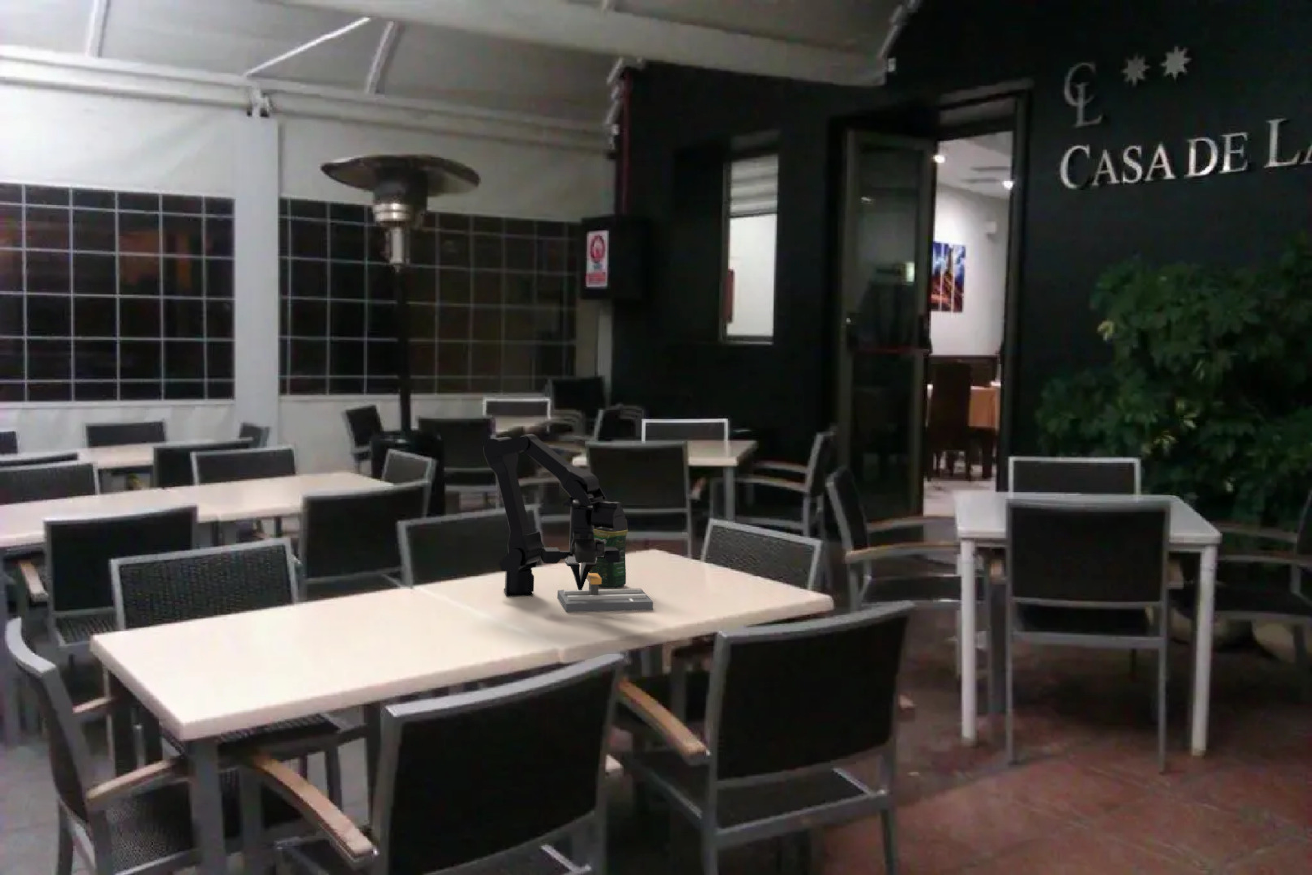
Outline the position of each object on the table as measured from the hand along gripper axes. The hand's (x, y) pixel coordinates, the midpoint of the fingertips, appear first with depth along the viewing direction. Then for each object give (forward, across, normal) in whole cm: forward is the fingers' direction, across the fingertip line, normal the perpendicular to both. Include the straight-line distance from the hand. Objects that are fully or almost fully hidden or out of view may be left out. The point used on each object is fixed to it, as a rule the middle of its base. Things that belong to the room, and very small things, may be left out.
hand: (579, 590), depth 270 cm
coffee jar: (+4, +10, +19) cm, 22 cm away
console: (+4, +6, 0) cm, 7 cm away
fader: (+1, +3, 0) cm, 4 cm away
